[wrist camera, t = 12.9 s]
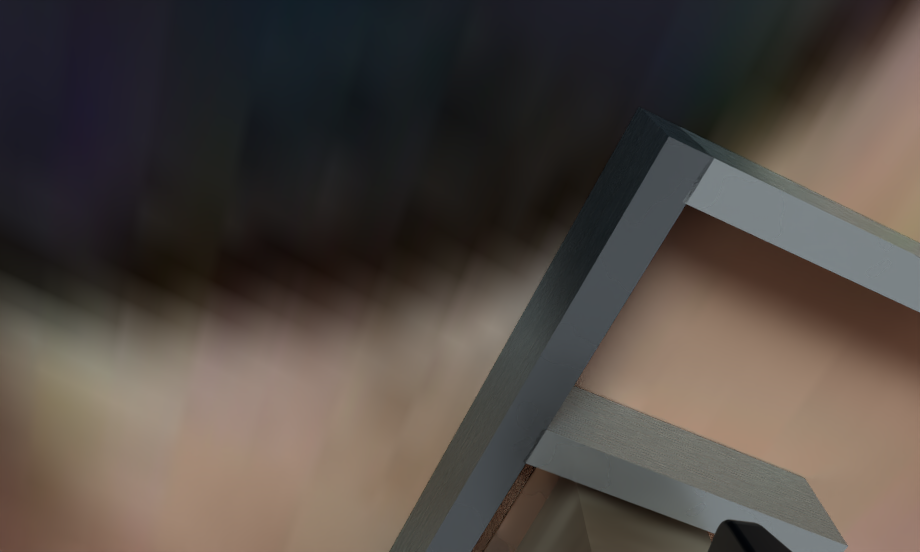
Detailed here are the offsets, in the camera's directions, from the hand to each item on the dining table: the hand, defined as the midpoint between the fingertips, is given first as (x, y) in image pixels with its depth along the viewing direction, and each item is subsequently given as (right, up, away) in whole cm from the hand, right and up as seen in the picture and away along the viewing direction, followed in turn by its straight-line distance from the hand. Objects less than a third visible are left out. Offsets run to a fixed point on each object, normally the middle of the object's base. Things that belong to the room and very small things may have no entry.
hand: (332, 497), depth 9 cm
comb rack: (+8, -3, +16) cm, 18 cm away
